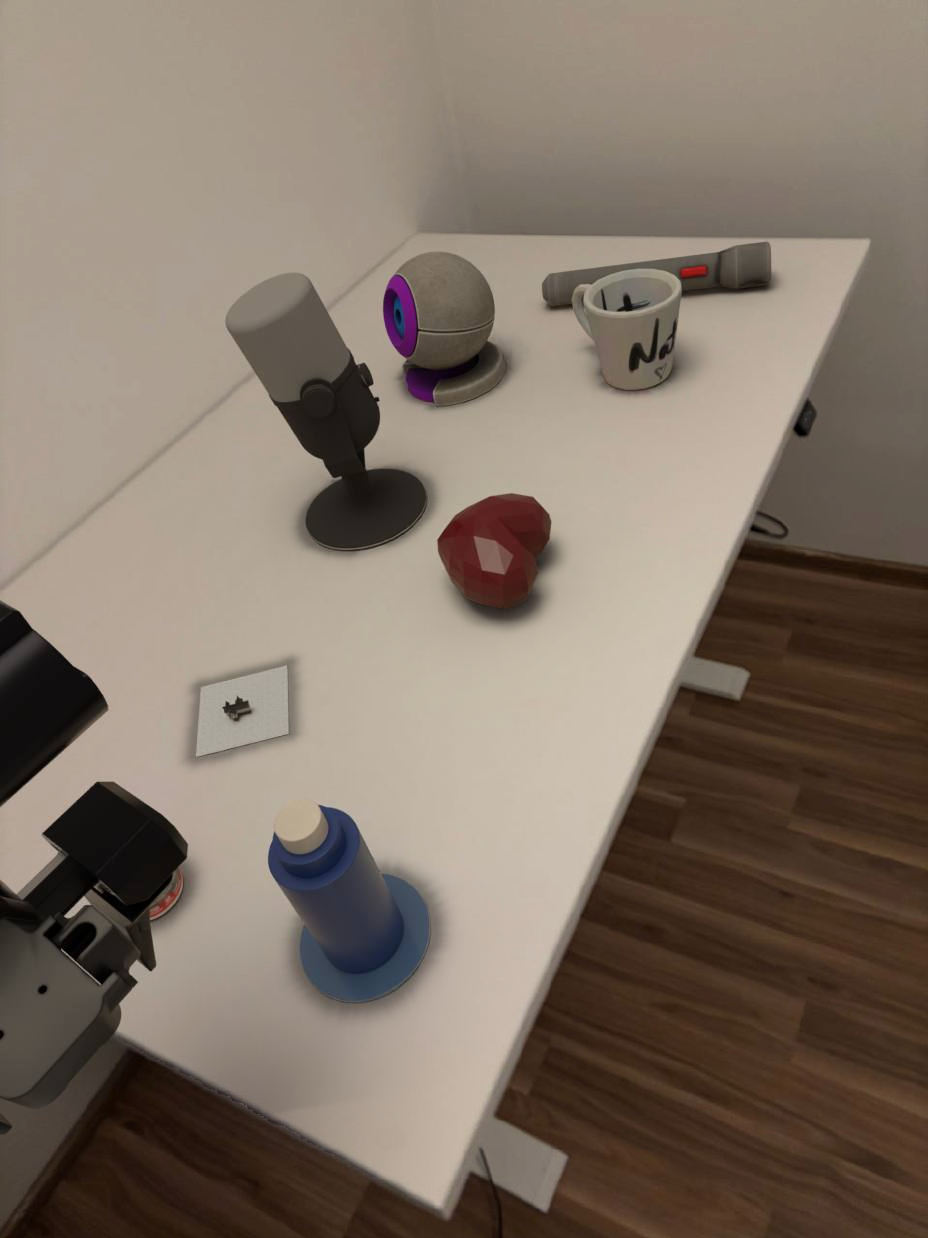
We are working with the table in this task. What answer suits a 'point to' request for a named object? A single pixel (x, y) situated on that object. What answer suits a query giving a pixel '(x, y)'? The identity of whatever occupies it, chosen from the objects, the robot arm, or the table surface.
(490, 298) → the webcam
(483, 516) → the heart
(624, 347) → the mug
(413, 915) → the blue coaster
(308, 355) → the microphone
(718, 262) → the flashlight
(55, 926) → the robot arm
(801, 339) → the table surface
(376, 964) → the blue bottle
